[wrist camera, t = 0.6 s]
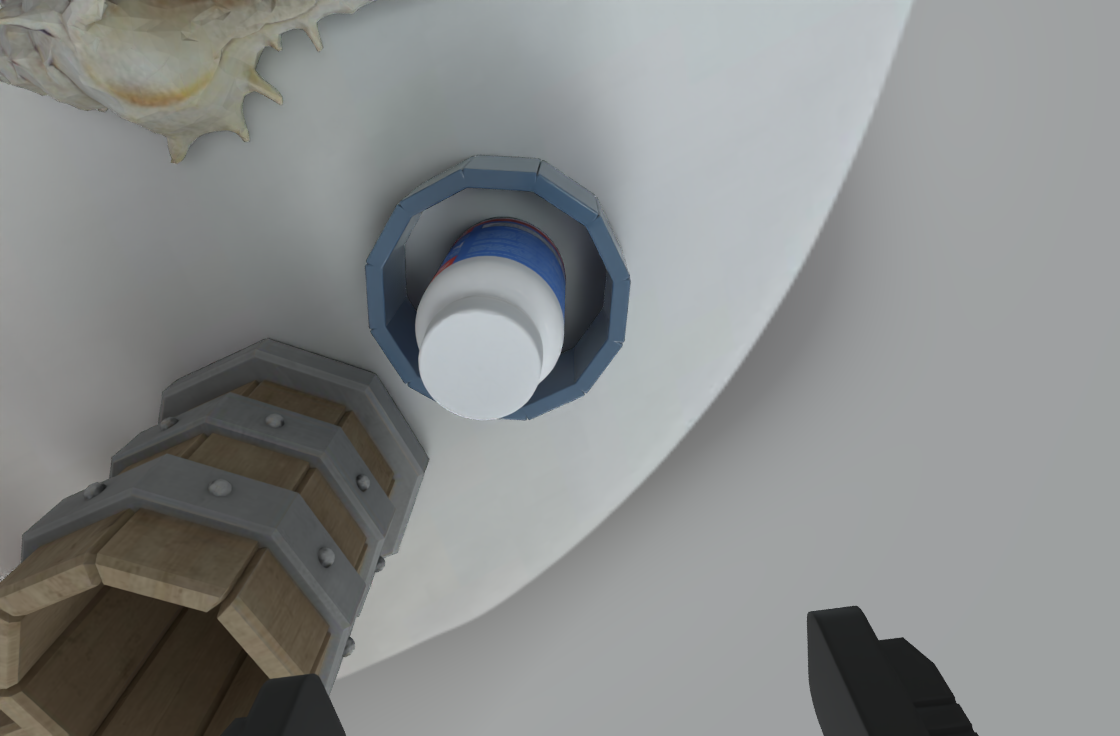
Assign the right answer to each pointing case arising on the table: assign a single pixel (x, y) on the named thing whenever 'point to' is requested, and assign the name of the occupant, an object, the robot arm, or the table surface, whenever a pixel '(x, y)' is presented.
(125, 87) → the seashell
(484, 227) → the pill bottle
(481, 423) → the table surface
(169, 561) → the tankard
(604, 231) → the grey hollow ring
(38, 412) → the table surface
